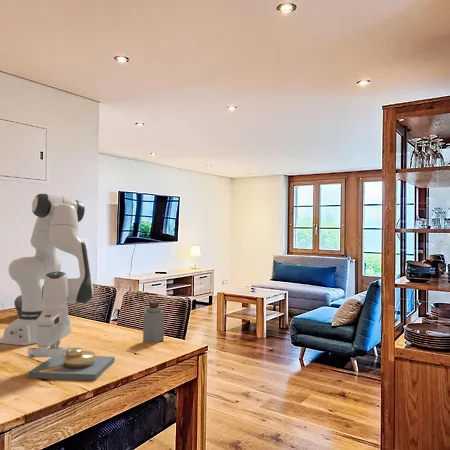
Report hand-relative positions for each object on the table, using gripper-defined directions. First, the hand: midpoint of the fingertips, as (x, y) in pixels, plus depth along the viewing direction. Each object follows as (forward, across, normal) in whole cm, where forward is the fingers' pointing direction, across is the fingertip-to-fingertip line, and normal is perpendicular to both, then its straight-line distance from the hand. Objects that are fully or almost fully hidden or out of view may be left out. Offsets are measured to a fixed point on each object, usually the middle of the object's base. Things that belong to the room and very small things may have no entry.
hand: (54, 352), depth 153 cm
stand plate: (+6, +1, +8) cm, 10 cm away
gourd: (+6, -87, -51) cm, 101 cm away
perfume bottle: (+6, -41, +28) cm, 50 cm away
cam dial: (+3, +2, +4) cm, 5 cm away
